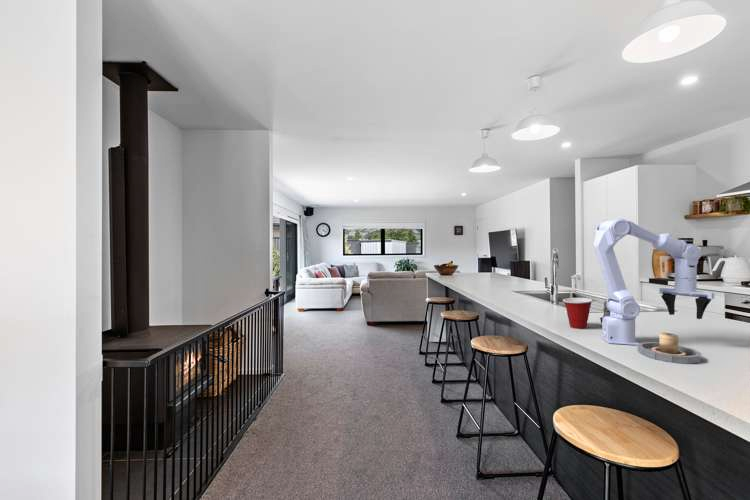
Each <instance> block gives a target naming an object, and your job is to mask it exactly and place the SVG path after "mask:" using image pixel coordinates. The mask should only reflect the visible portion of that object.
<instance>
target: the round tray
mask: <svg viewBox="0 0 750 500" xmlns="http://www.w3.org/2000/svg"><path fill="white" fill-rule="evenodd" d="M637 352H638V354H640V355H642V356H645V357H647V358H650V359H654V360H658V361H662V362H667V363H674V364H685V365H694V364H699V363H701V362H702V352H700V351H698V350H696V349H694V348H691V347H687V346H683V345H680V344H678V354H668V353H663V352H659V342H658V341H657V342H656V341H649V342H648V341H647V342H646V341H645V342H639V344H638V345H637Z"/></svg>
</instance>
